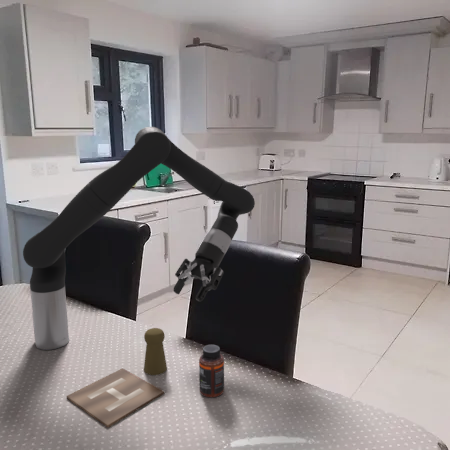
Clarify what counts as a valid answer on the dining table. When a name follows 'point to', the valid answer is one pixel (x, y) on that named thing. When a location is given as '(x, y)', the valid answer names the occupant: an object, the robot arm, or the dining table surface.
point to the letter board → (115, 396)
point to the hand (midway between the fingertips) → (186, 296)
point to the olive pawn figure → (154, 352)
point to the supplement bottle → (211, 371)
